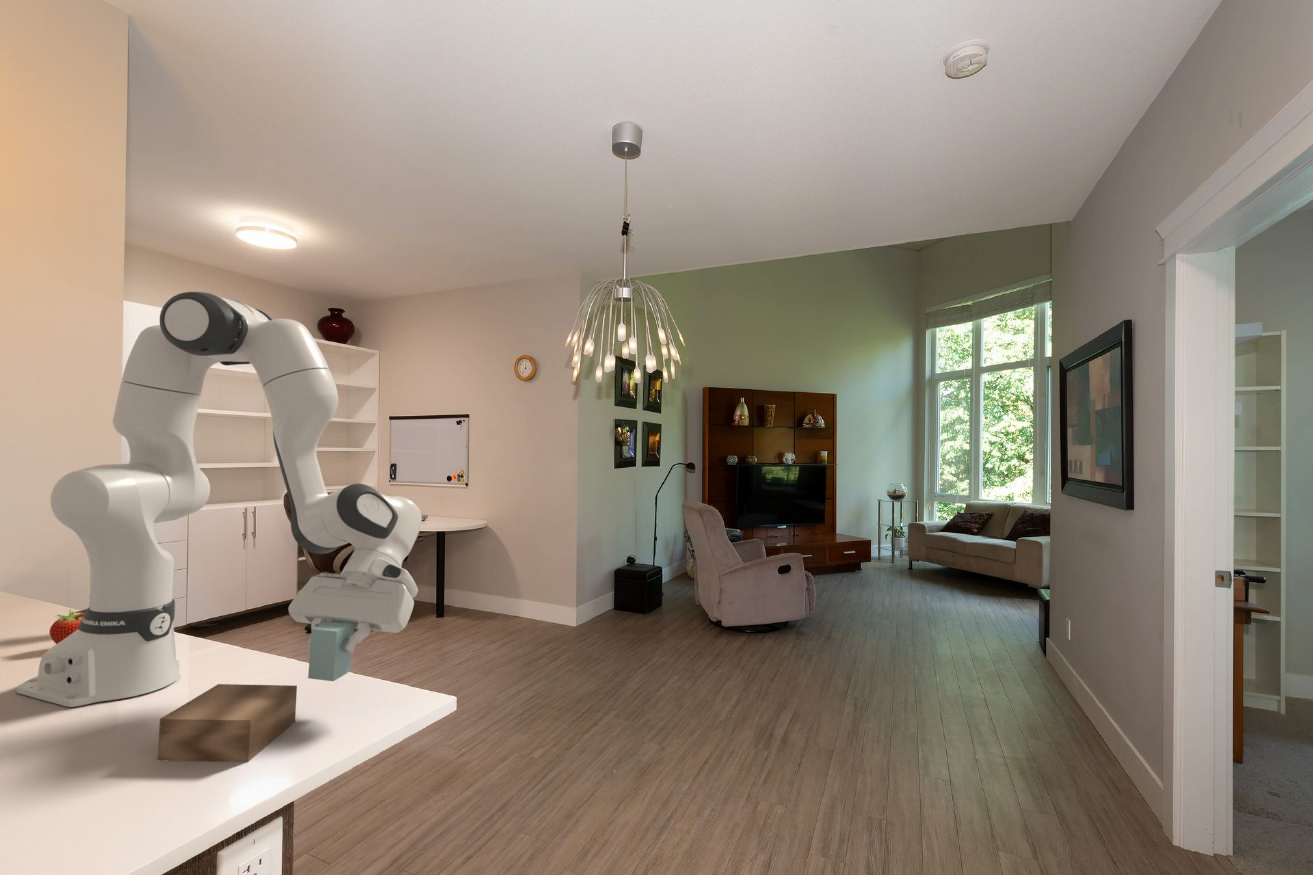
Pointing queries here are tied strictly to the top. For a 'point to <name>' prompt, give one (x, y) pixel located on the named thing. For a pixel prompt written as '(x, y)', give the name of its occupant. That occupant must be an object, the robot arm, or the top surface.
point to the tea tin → (329, 651)
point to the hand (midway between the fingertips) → (329, 649)
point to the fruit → (64, 626)
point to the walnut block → (227, 723)
